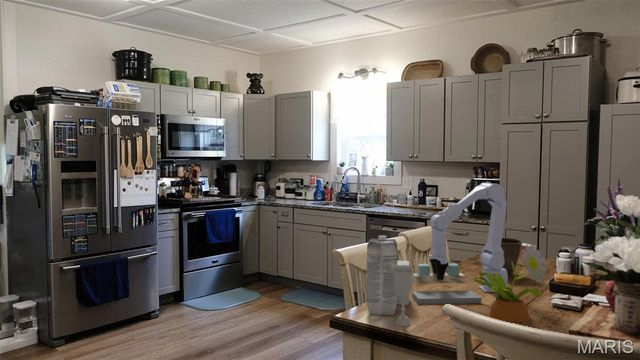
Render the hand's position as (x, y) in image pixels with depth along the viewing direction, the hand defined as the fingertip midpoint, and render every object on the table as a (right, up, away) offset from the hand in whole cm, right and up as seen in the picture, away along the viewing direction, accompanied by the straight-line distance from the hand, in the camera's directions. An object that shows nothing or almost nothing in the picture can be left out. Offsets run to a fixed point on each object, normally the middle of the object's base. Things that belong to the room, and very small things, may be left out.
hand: (438, 278), depth 202 cm
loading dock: (0, -6, -10) cm, 12 cm away
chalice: (-21, -8, -37) cm, 44 cm away
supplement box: (-19, -7, -12) cm, 23 cm away
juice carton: (-26, -7, -26) cm, 37 cm away
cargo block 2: (+6, +1, 0) cm, 6 cm away
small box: (+56, -4, +50) cm, 75 cm away
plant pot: (+38, -5, +31) cm, 49 cm away
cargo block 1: (-6, +1, 0) cm, 6 cm away
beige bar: (0, -2, 0) cm, 2 cm away
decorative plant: (+16, -7, -29) cm, 34 cm away
